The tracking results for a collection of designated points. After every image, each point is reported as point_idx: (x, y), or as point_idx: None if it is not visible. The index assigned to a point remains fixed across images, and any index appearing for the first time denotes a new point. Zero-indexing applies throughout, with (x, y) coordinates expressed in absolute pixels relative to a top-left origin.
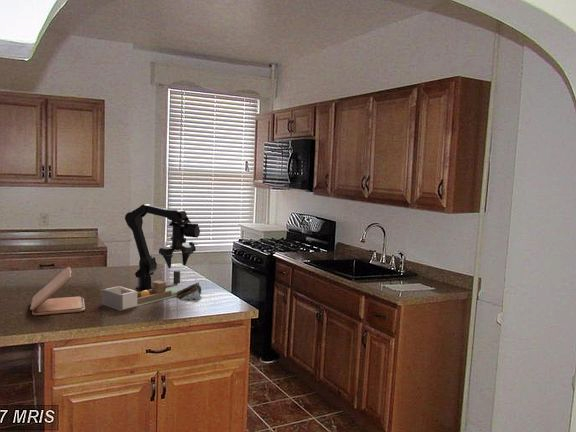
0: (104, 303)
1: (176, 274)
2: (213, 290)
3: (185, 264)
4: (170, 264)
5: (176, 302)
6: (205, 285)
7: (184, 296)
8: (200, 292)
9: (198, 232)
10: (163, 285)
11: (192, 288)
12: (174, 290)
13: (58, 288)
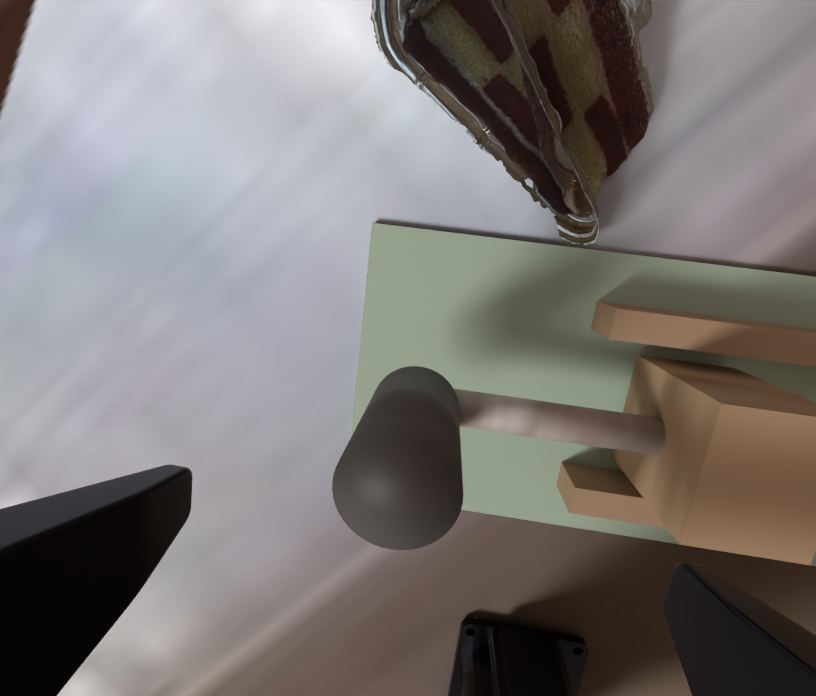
0: None
1: (450, 438)
2: (117, 82)
3: (152, 471)
4: (798, 640)
5: (785, 69)
6: (46, 295)
7: (639, 70)
8: (388, 9)
9: None
10: (737, 394)
11: (514, 15)
12: None
13: None
